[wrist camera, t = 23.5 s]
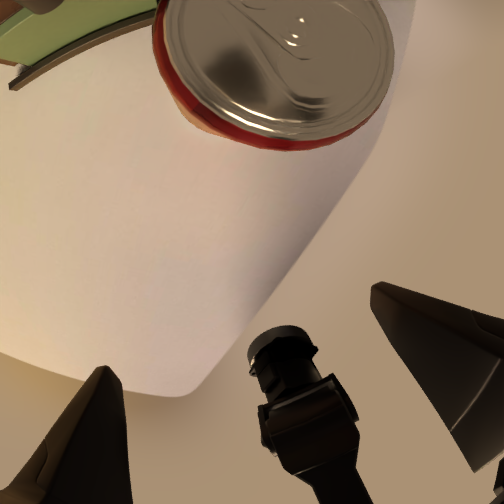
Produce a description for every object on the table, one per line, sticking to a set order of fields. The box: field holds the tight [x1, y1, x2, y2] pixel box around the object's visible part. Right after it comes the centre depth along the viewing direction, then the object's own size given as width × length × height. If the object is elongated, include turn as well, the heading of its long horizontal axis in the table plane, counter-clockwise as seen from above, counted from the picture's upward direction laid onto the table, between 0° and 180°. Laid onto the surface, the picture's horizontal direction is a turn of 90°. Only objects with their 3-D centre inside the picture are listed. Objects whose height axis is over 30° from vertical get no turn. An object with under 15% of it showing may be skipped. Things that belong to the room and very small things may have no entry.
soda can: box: [152, 0, 395, 152], centre depth 10 cm, size 7×7×12 cm
